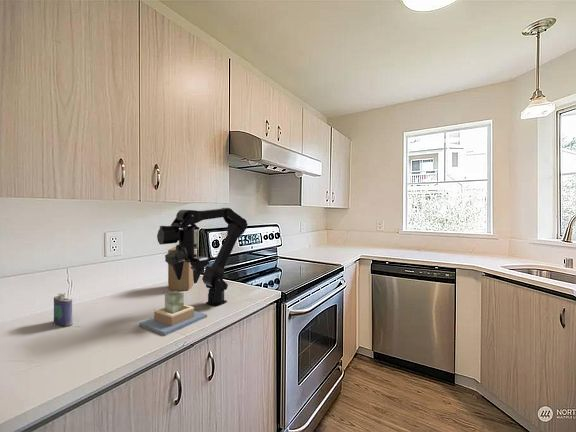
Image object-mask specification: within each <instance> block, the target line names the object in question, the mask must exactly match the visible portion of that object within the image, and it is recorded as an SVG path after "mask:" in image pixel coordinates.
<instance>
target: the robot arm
mask: <svg viewBox="0 0 576 432" xmlns="http://www.w3.org/2000/svg"><path fill="white" fill-rule="evenodd" d="M221 218H223V221H224V222H225V223H226V224H227V227H226V237H225V238H224V240H223V243H222V245H221V247H220V249H219V251H218V253H217V254H216V255H217V256H216V257H215V260H214V261H213V263H212V265H210V259H209V257H207V256H198V254H196V253H195V248H196V247H198V244H197V243H195V231H199V230H200V229H201V228H200V227H199V226H197V224H198V223H200V222H203V221H204V220H205V221H206V220H212V219H213V220H214V219H221ZM247 228H248V222H247V220H246V219H245V218H243V217H242V216H241V215H240V214H238V213H236V212H235V211H234V210H233V209H232V208H230V207H221V208H214V209H203V210H194V209H180V210H178V211H177V213H176V216H175V218H174V220H173V221H172V223H171V224H170V225H159V229H158V231H157V235H156V238H157V243H158V244H159V245H169V244H171V245H172V244H175V245H176V246H175V247H176V250H174V251H171V252H170V253H168V252H167V254H164V257H165V263H167V265H168V264H169V265H171V266H172V267H173V269H174V271H175V274H176V276H177V279H178V280H180V279H181V276H182V270H183V265H184V262H189V263H190V264H191V266H192V267H190V268H191V269H192V270H193V280H194V284H197V283H198V281H199V279H200V277H201V275H202V279H201V280H202V282H203V284H204V285H205V287H206V289H208V294H207V301H206V302H205V304H207V305H210V306H214V307H219V306H220V305H223V304H225V303H227V302H228V300H227V299H226V300H225V291H226V290H227V289H228V286H229V284H228V283H227V282H226V281H225V280H224V277H225V267H226V265H227V262H228V261H229V258H230V256H231V253H232V251H233V249H234V247H235V244H236V243H237V242H238V241H237V240H238V239H239V238H240V237H241V236H242V235H243V234H244V233H245V231H246V230H247ZM209 265H210V266H209Z"/></svg>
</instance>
